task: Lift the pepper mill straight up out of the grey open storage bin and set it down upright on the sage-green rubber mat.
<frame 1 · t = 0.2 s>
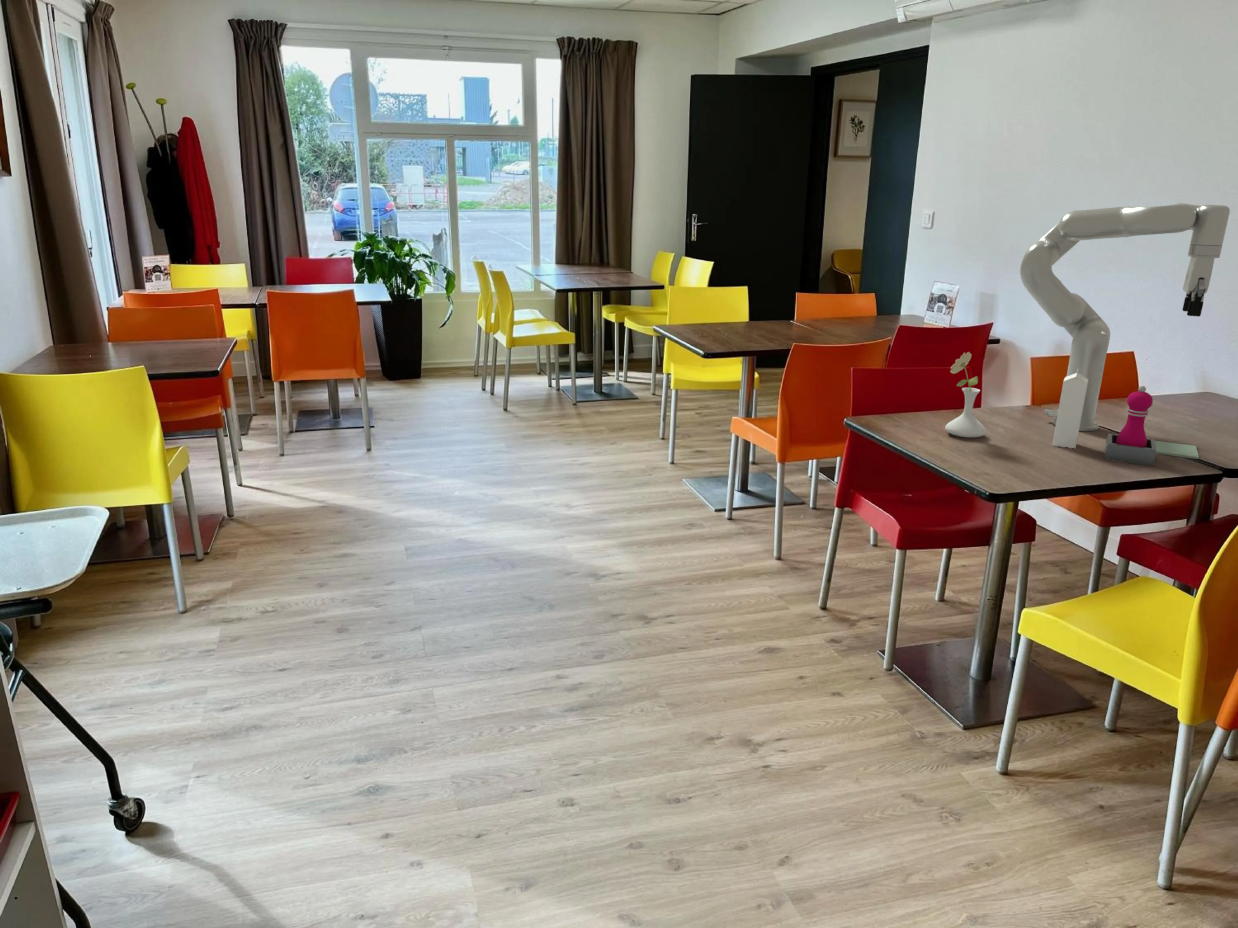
hand: (1191, 313, 249), 37 cm above the table, tool pointing down, fingers open, 9 cm apart
grey open storage bin: (1128, 457, 242), on the table
milk: (1064, 445, 253), on the table
flower in vase: (962, 436, 260), on the table
pepper mill: (1128, 457, 242), resting in grey open storage bin
mat: (1167, 449, 249), on the table
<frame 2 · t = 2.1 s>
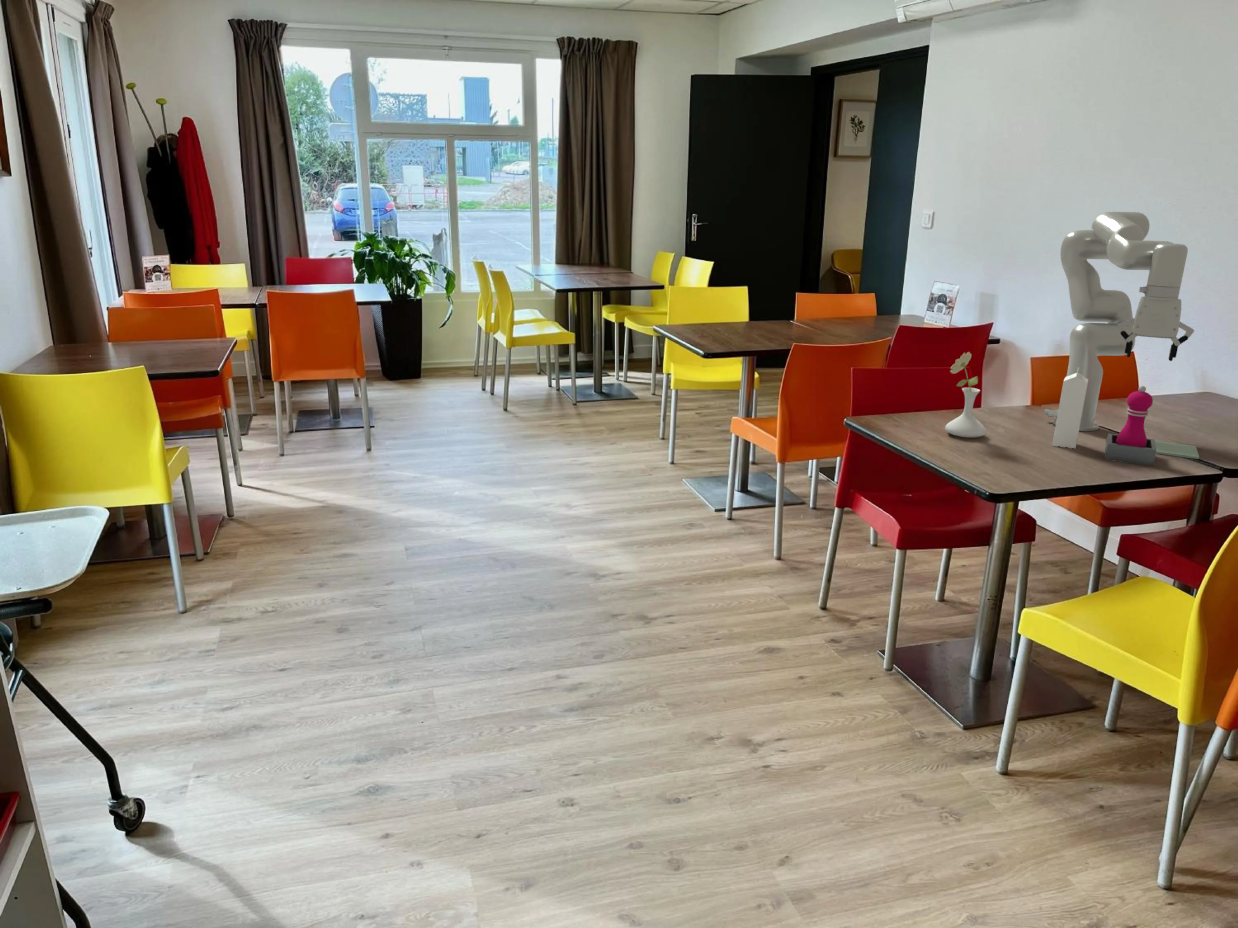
hand: (1149, 358, 233), 28 cm above the table, tool pointing down, fingers open, 9 cm apart
nothing on the table moved.
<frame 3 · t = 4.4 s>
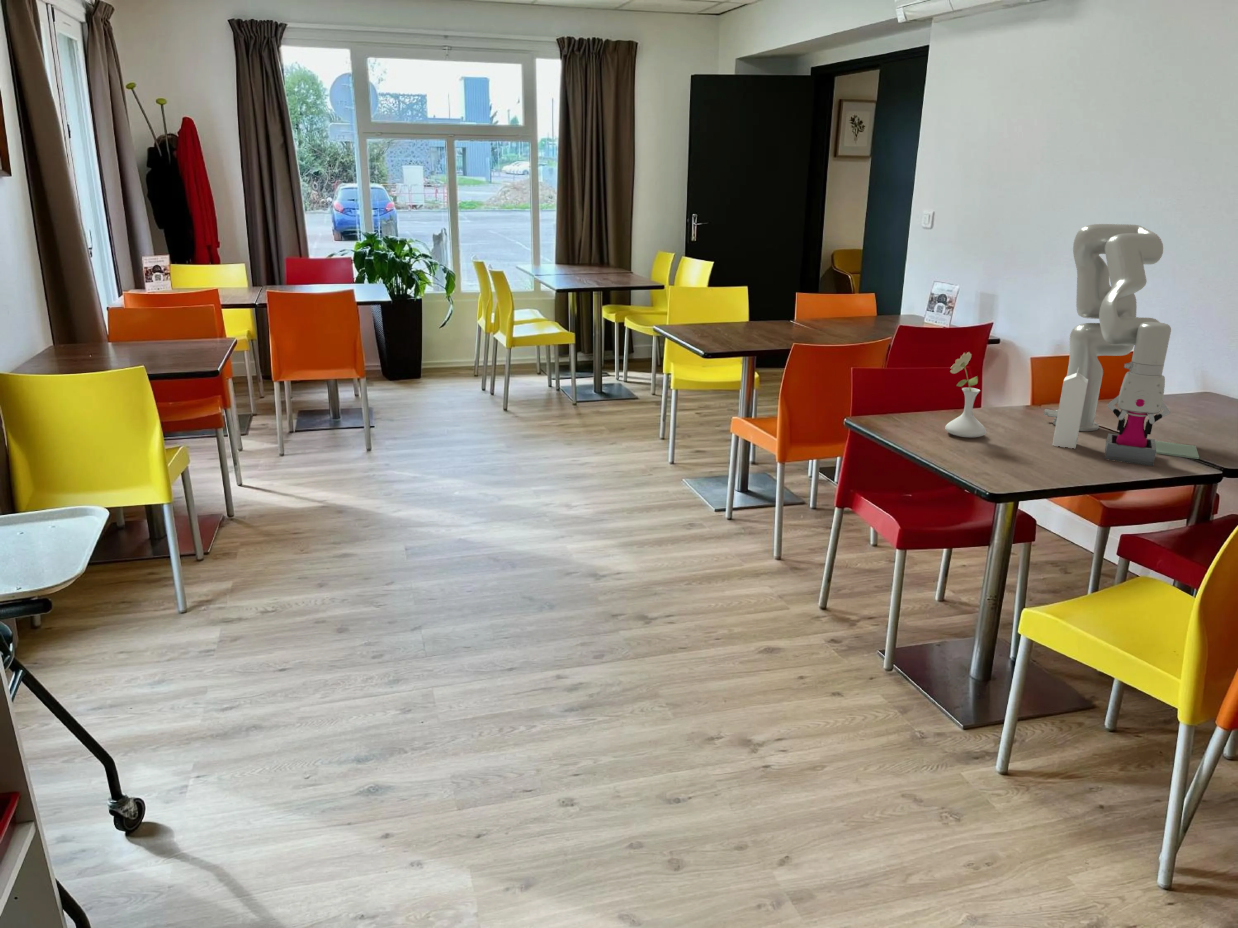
hand: (1133, 434, 240), 7 cm above the table, tool pointing down, fingers closed on pepper mill, 5 cm apart
pepper mill: (1128, 457, 242), resting in grey open storage bin, touching gripper
everything else where it was.
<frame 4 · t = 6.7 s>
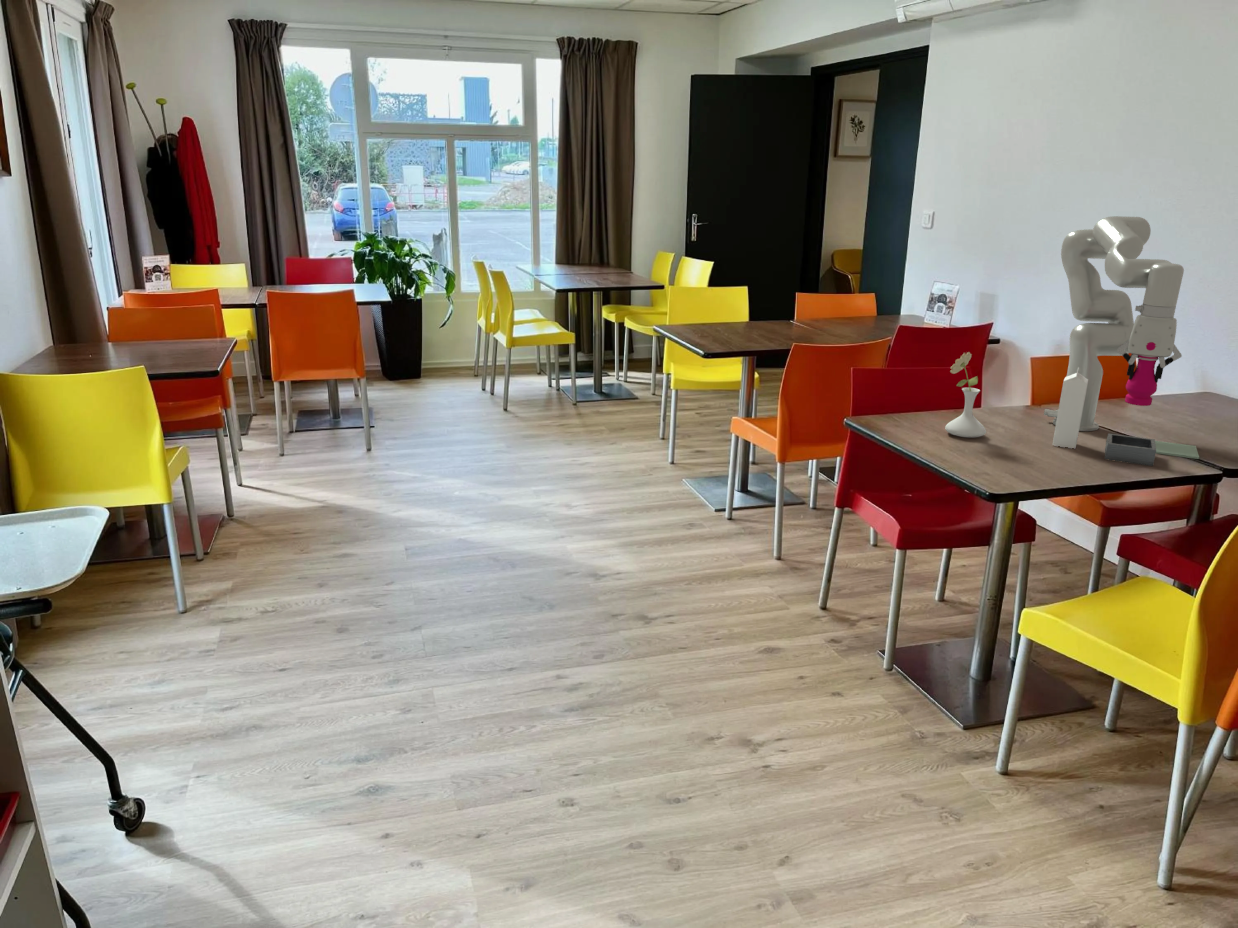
hand: (1143, 379, 236), 22 cm above the table, tool pointing down, fingers closed on pepper mill, 5 cm apart
pepper mill: (1137, 403, 238), point 15 cm above the table, touching gripper
everything else where it was.
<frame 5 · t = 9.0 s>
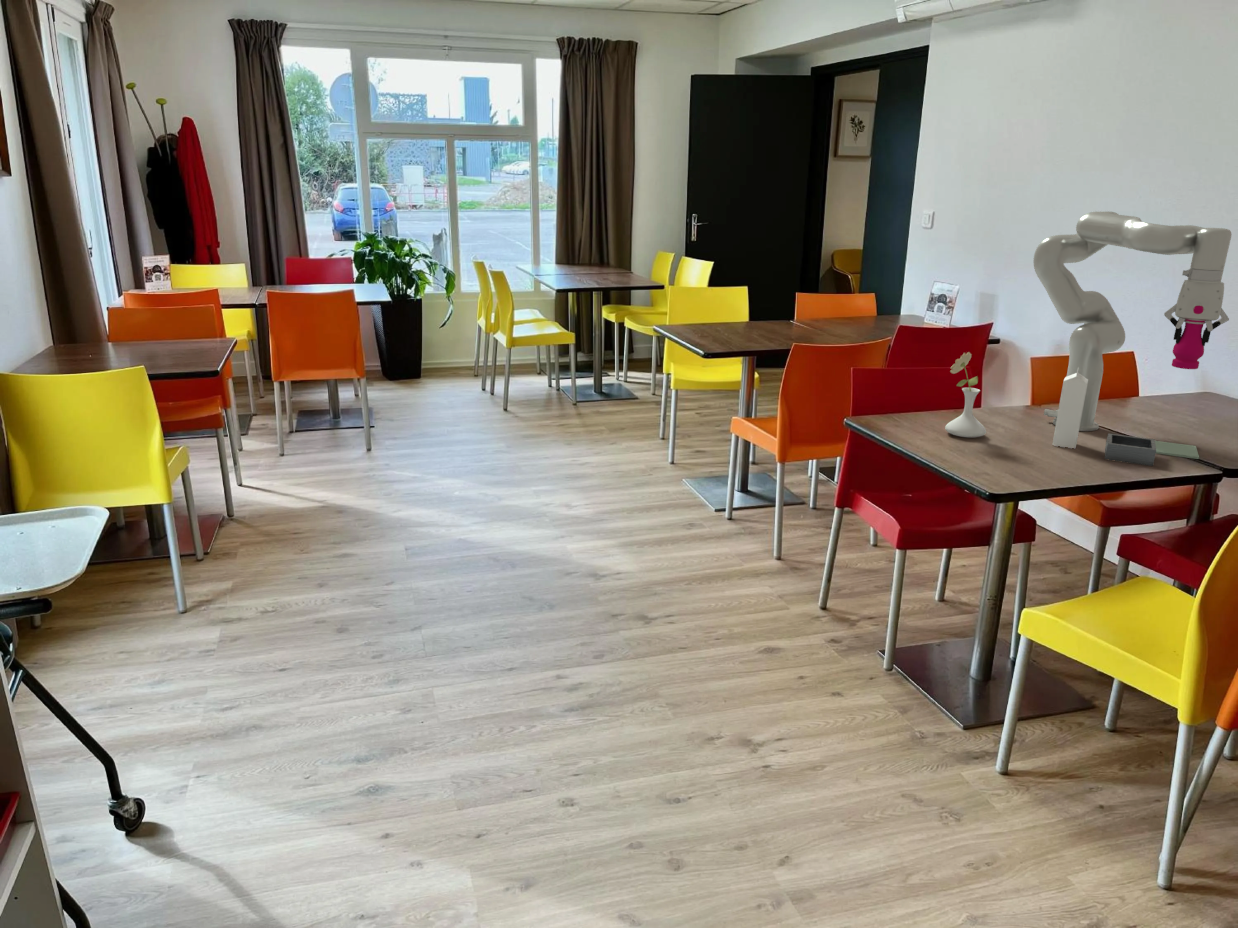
hand: (1190, 343, 240), 30 cm above the table, tool pointing down, fingers closed on pepper mill, 5 cm apart
pepper mill: (1184, 367, 242), point 24 cm above the table, touching gripper
everything else where it was.
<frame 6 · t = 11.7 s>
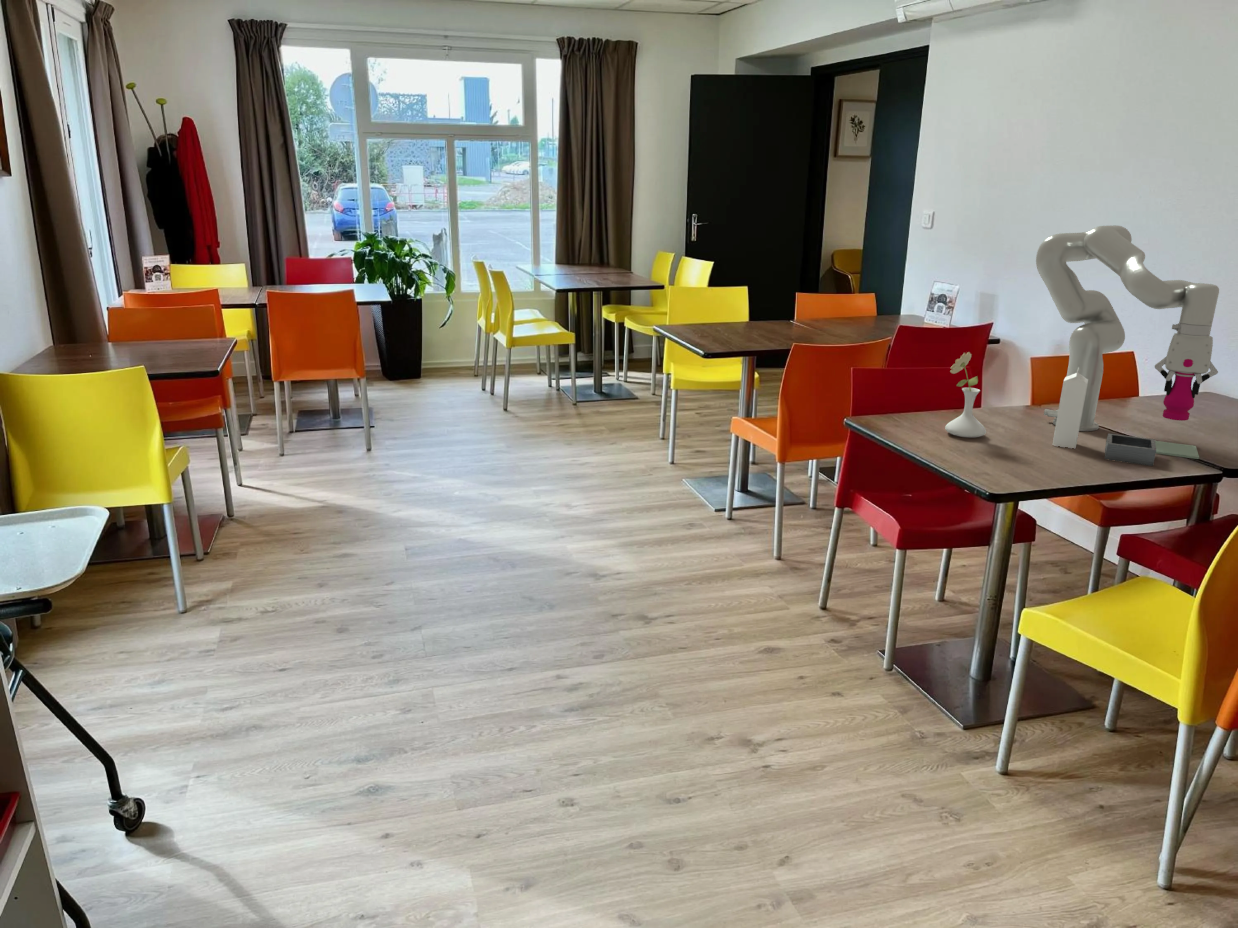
hand: (1180, 395, 244), 16 cm above the table, tool pointing down, fingers closed on pepper mill, 5 cm apart
pepper mill: (1175, 418, 246), point 9 cm above the table, touching gripper
everything else where it was.
when the fingers open (9 cm above the table, at t = 13.6 s): pepper mill drops 2 cm, resting on mat.
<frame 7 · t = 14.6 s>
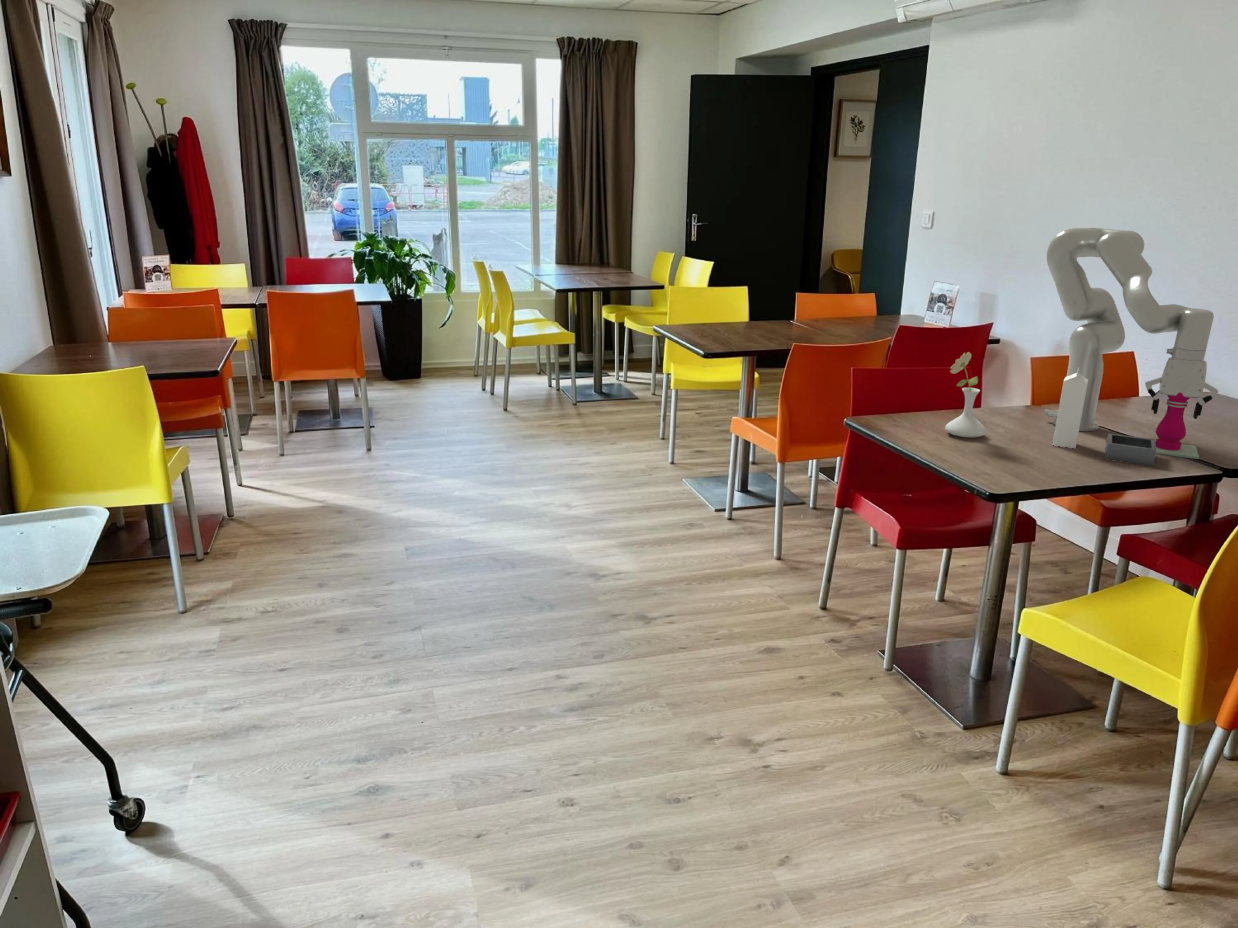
hand: (1174, 415, 246), 10 cm above the table, tool pointing down, fingers open, 9 cm apart
pepper mill: (1167, 448, 249), resting on mat
everything else where it was.
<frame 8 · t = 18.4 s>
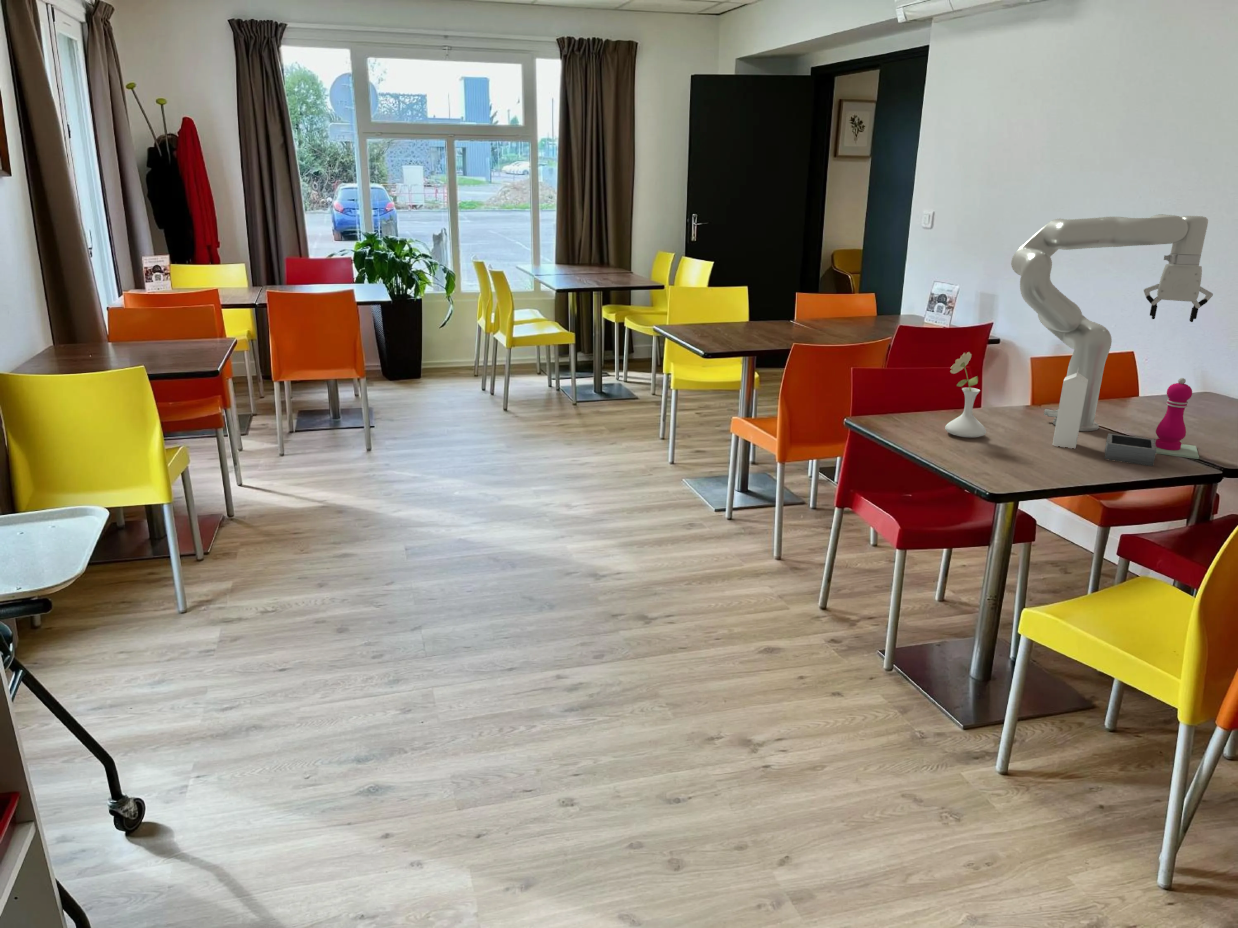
hand: (1171, 320, 259), 33 cm above the table, tool pointing down, fingers open, 9 cm apart
nothing on the table moved.
at the end: pepper mill inside the target area on the mat (0.2 cm from its centre), point 0.4 cm above the mat's base; pepper mill tilted 0°; the gripper is holding nothing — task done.
